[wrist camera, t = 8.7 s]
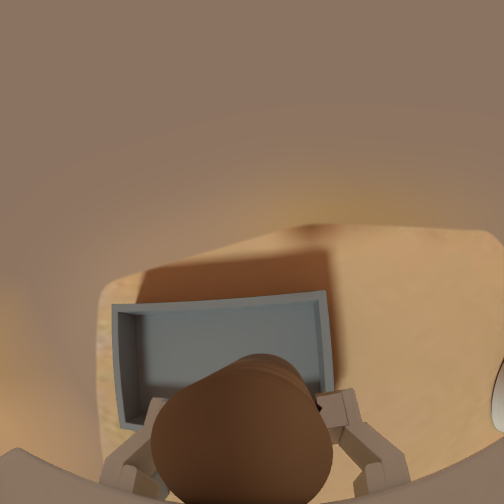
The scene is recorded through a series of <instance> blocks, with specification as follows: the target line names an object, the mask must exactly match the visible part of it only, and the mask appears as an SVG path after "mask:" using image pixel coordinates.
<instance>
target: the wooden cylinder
mask: <svg viewBox="0 0 504 504" xmlns="http://www.w3.org/2000/svg"><path fill="white" fill-rule="evenodd" d="M151 453H152V457H153V461H154V464H155V467H156V469H157V471H158V473H159V475H160V477H161V479H162V480H163V482H164V483H165V484H166V486H167V487H168V488H169V489H170V490H171V491H172V492H173V493H174V494H175V496H177V497H178V498H179V499H180V500H181V501H183V502H184V503H185V504H307V503H308V502H309V501H311V500H312V499H313V498H314V497H315V496H316V495H317V494H318V492H319V491H320V490H321V488H322V487H323V485H324V484H325V482H326V480H327V478H328V476H329V473H330V470H331V466H332V459H333V448H332V441H331V438H330V434H329V431H328V429H327V427H326V425H325V423H324V421H323V419H322V417H321V415H320V413H319V411H318V409H317V407H316V405H315V403H314V401H313V399H312V397H311V395H310V393H309V391H308V389H307V387H306V385H305V383H304V381H303V379H302V377H301V375H300V374H299V372H298V371H297V369H296V368H295V367H294V366H293V365H292V364H291V363H289V362H288V361H286V360H285V359H283V358H281V357H278V356H276V355H271V354H265V353H258V354H251V355H247V356H245V357H242V358H240V359H238V360H236V361H235V362H233V363H231V364H229V365H227V366H226V367H224V368H222V369H220V370H218V371H216V372H214V373H212V374H211V375H209V376H207V377H205V378H203V379H201V380H199V381H197V382H195V383H193V384H191V385H189V386H187V387H185V388H183V389H182V390H180V391H179V392H177V393H176V394H175V395H173V396H172V397H171V398H170V399H169V400H168V401H167V402H166V403H165V405H164V406H163V407H162V408H161V410H160V411H159V413H158V415H157V417H156V419H155V422H154V424H153V428H152V433H151Z"/></svg>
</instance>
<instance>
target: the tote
mask: <svg viewBox="0 0 504 504" xmlns="http://www.w3.org/2000/svg"><path fill="white" fill-rule="evenodd" d="M112 349H113V367H114V380H115V390H116V400H117V408H118V415H119V422H120V428H122V429H128V430H133V431H138V430H139V429H143V426H144V422H145V419H146V415H147V412H148V408H149V405H150V401H151V400H152V398H153V397H155V398H168V399H170V398H171V397H172V396H173V395H175V394H176V393H177V392H179V391H180V390H182V389H183V388H185V387H187V386H189V385H191V384H193V383H195V382H197V381H199V380H201V379H203V378H205V377H207V376H209V375H211V374H212V373H214V372H216V371H218V370H220V369H222V368H224V367H226V366H227V365H229V364H231V363H233V362H235V361H236V360H238V359H240V358H242V357H245V356H247V355H251V354H258V353H265V354H271V355H276V356H278V357H281V358H283V359H285V360H286V361H288V362H289V363H291V364H292V365H293V366H294V367H295V368H296V369H297V371H298V372H299V374H300V375H301V377H302V379H303V381H304V383H305V385H306V387H307V389H308V391H309V393H310V395H311V397H312V399H313V401H314V403H315V394H318V393H324V392H330V391H334V377H333V361H332V348H331V336H330V325H329V314H328V305H327V296H326V290H321V291H312V292H302V293H292V294H282V295H271V296H259V297H247V298H234V299H220V300H204V301H187V302H167V303H141V304H112Z"/></svg>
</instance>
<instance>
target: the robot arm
mask: <svg viewBox="0 0 504 504" xmlns="http://www.w3.org/2000/svg"><path fill="white" fill-rule="evenodd" d="M168 400H169V399H168V398H155V397H153V398H152V400H151V401H150V405H149V408H148V412H147V415H146V419H145V422H144V426H143V429H139V430H138V431H137V432H135V433H134V434H133V435H132V436H131V437H130V438H129V439H128V440H126V441H125V442H124V443H123V444H122V445H121V446H120V447H118V448H117V449H116V450H115V451H114V452H113V453H112V454H110V455H109V456H108V457H107V458H106V459H105V463H104V466H103V469H102V473H101V476H100V480H99V483H97V482H94V481H91V480H88V479H85V478H83V477H80V476H78V475H75V474H73V473H70V472H68V471H66V470H63V469H61V468H59V467H57V466H54V465H52V464H50V463H48V462H46V461H44V460H42V459H40V458H38V457H36V456H34V455H32V454H30V453H29V452H27V451H25V450H23V449H21V448H15V449H12V450H11V451H9V452H7V453H6V454H4V455H3V456H1V457H0V504H184V503H177V502H171V501H165V500H160V499H158V495H159V489H160V484H159V483H158V482H156V481H155V480H153V479H152V478H150V476H151V475H152V474H153V473H154V472H155V471H156V470H157V469H156V467H155V464H154V461H153V457H152V453H151V433H152V428H153V424H154V422H155V419H156V417H157V415H158V413H159V411H160V410H161V408H162V407H163V406H164V405H165V403H166V402H167V401H168ZM315 405H316V407H317V409H318V411H319V413H320V415H321V417H322V419H323V421H324V423H325V425H326V427H327V429H328V431H329V434H330V438H331V441H332V445H333V444H338V445H339V446H340V447H341V448H342V449H343V450H344V451H345V452H346V454H347V455H348V456H349V457H350V458H351V459H352V460H353V461H354V462H355V463H356V464H357V465H358V466H359V467H360V468H361V469H362V472H361V473H360V475H359V476H358V477H357V478H356V479H355V481H354V482H353V486H354V494H355V498H350V499H345V500H340V501H335V502H329V503H322V504H504V437H502V438H500V439H499V440H497V441H496V442H494V443H492V444H491V445H489V446H487V447H486V448H484V449H482V450H480V451H478V452H477V453H475V454H473V455H471V456H469V457H467V458H465V459H463V460H461V461H459V462H457V463H455V464H453V465H451V466H449V467H446V468H444V469H442V470H440V471H437V472H435V473H432V474H430V475H428V476H425V477H422V478H420V479H417V480H414V481H412V482H411V480H410V475H409V471H408V467H407V463H406V460H405V456H404V453H402V452H401V451H400V450H399V449H398V448H396V447H395V446H394V445H393V444H391V443H390V442H389V441H388V440H387V439H385V438H384V437H383V436H382V435H381V434H380V433H378V432H377V431H376V430H375V429H374V428H372V427H371V426H370V425H369V424H368V423H367V422H362V419H361V415H360V411H359V407H358V403H357V399H356V395H355V391H354V390H353V388H349V389H343V390H336V391H330V392H324V393H318V394H315ZM492 419H493V422H494V425H495V427H496V428H497V429H498V430H499V431H501V432H504V363H503V365H502V367H501V369H500V372H499V375H498V378H497V381H496V384H495V388H494V393H493V399H492Z"/></svg>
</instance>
